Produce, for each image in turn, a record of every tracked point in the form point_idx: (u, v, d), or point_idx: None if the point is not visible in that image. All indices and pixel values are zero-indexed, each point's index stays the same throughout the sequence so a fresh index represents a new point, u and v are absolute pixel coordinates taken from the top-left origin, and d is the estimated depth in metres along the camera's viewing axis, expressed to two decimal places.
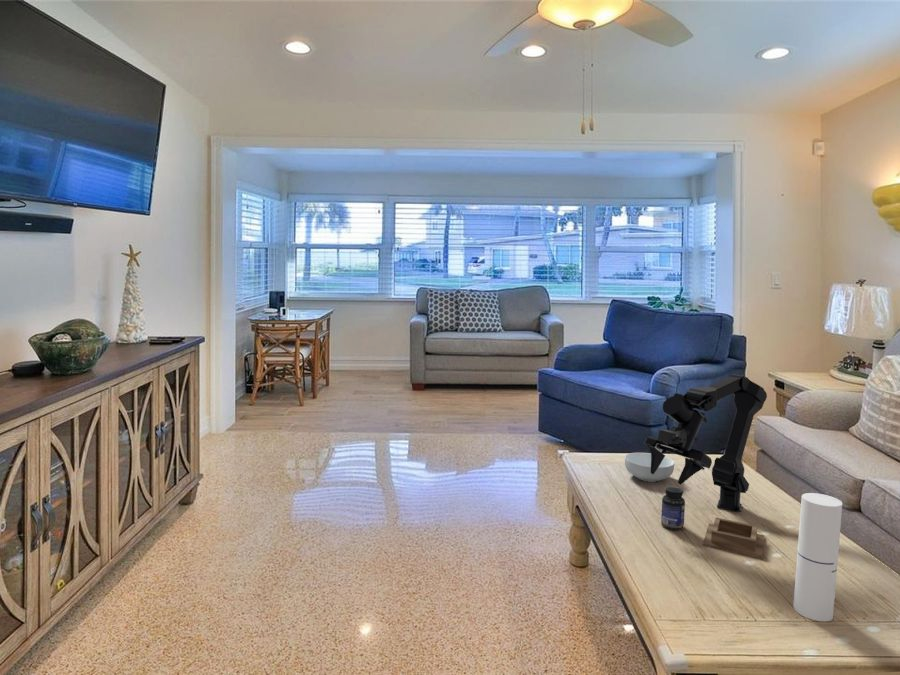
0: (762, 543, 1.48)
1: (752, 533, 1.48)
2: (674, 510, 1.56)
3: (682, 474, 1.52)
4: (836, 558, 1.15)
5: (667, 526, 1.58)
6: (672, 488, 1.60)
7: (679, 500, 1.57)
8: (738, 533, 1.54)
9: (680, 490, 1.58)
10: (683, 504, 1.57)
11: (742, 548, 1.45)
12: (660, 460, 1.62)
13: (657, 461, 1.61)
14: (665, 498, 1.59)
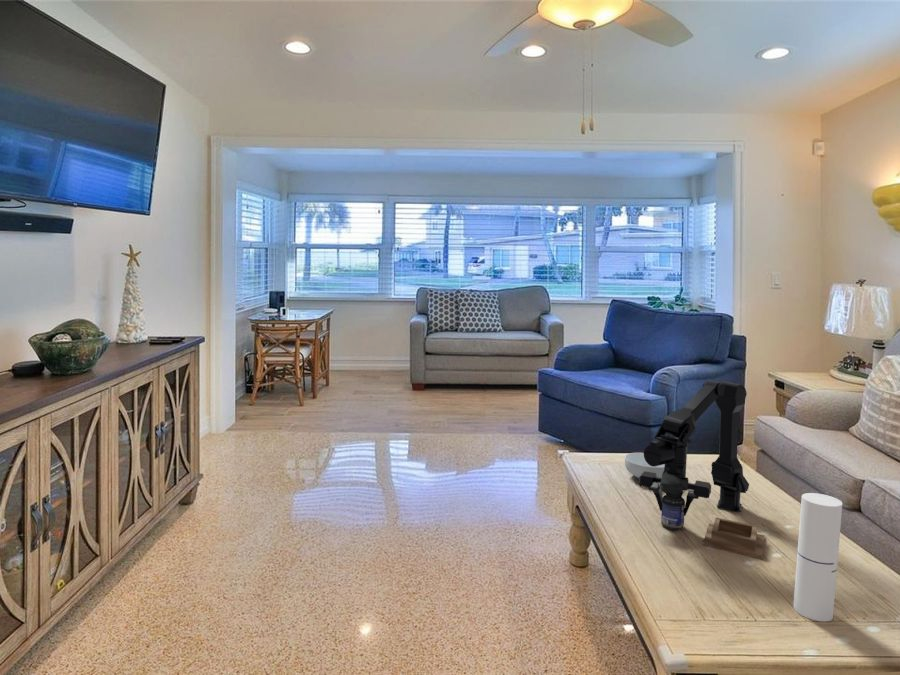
0: (762, 543, 1.48)
1: (752, 533, 1.48)
2: (674, 510, 1.56)
3: (686, 508, 1.56)
4: (836, 558, 1.15)
5: (667, 526, 1.58)
6: None
7: (679, 500, 1.57)
8: (738, 533, 1.54)
9: None
10: (683, 504, 1.57)
11: (742, 548, 1.45)
12: None
13: (661, 497, 1.61)
14: (665, 498, 1.59)
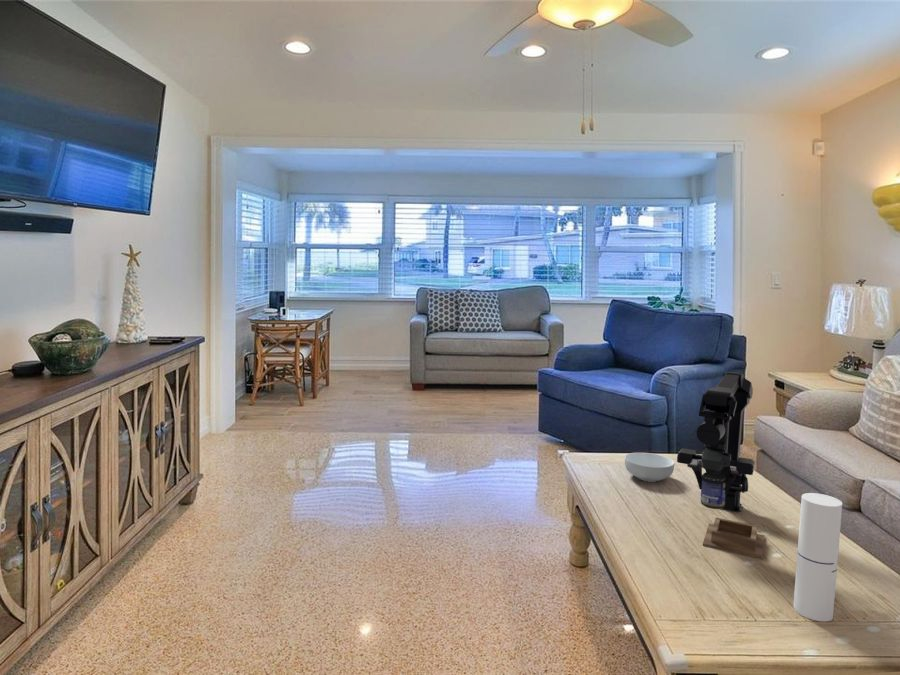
0: (762, 543, 1.48)
1: (752, 533, 1.48)
2: (715, 488, 1.50)
3: (728, 485, 1.50)
4: (836, 558, 1.15)
5: (707, 505, 1.51)
6: None
7: (720, 478, 1.50)
8: (738, 533, 1.54)
9: None
10: (724, 481, 1.50)
11: (742, 548, 1.45)
12: (701, 470, 1.55)
13: (701, 475, 1.54)
14: (705, 476, 1.52)
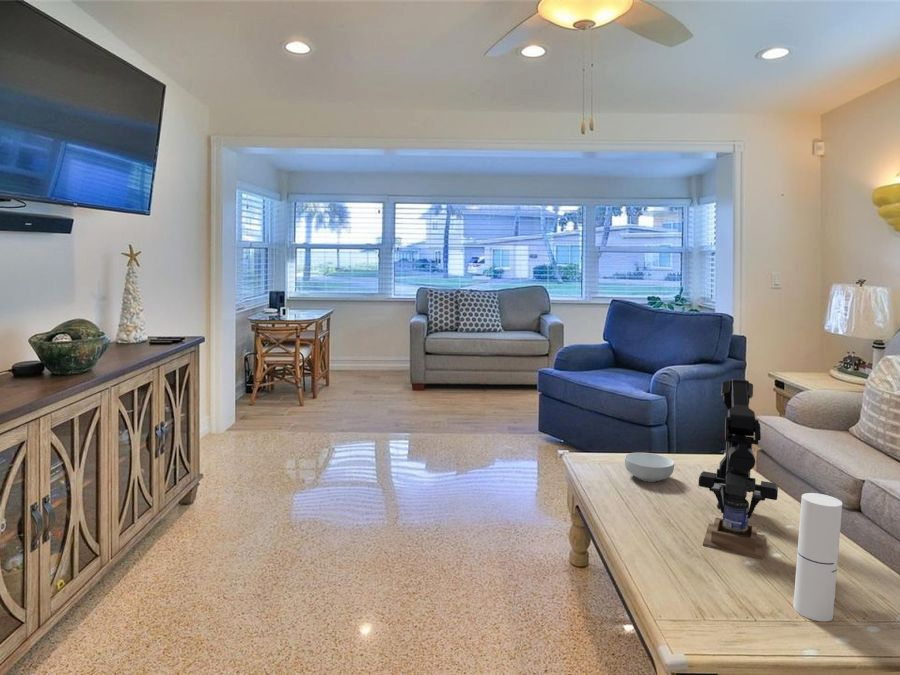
0: (762, 543, 1.48)
1: (752, 533, 1.48)
2: (738, 513, 1.47)
3: (751, 510, 1.47)
4: (836, 558, 1.15)
5: (730, 529, 1.48)
6: None
7: (743, 502, 1.47)
8: None
9: None
10: (747, 506, 1.47)
11: (742, 548, 1.45)
12: (722, 493, 1.53)
13: (722, 499, 1.52)
14: (728, 500, 1.49)
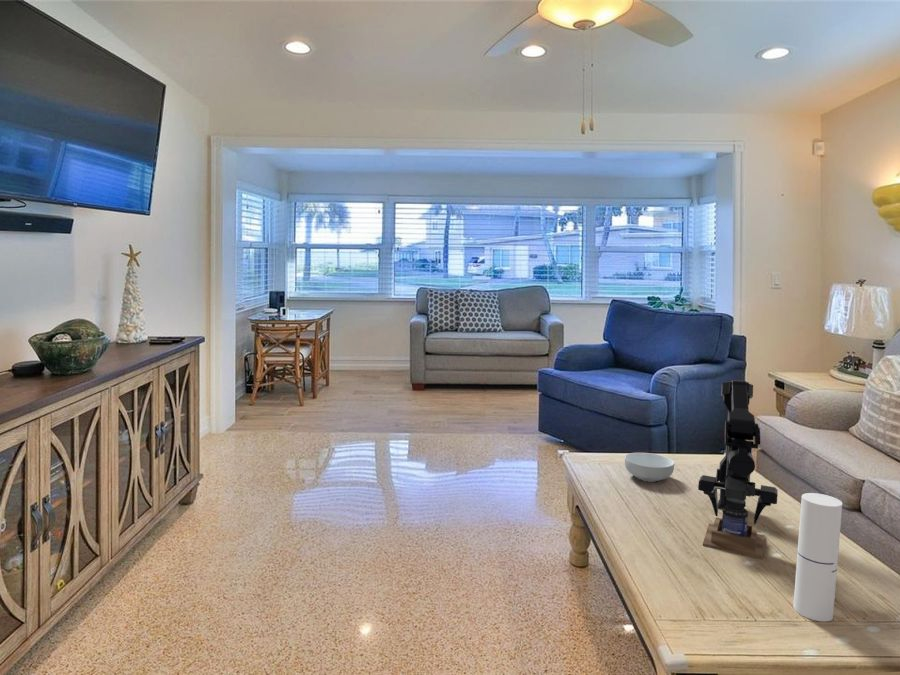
0: (762, 543, 1.48)
1: (752, 533, 1.48)
2: (737, 522, 1.47)
3: (757, 515, 1.47)
4: (836, 558, 1.15)
5: None
6: (733, 499, 1.51)
7: (742, 512, 1.48)
8: None
9: (743, 501, 1.49)
10: (746, 515, 1.48)
11: (742, 548, 1.45)
12: None
13: (716, 502, 1.52)
14: (727, 509, 1.50)
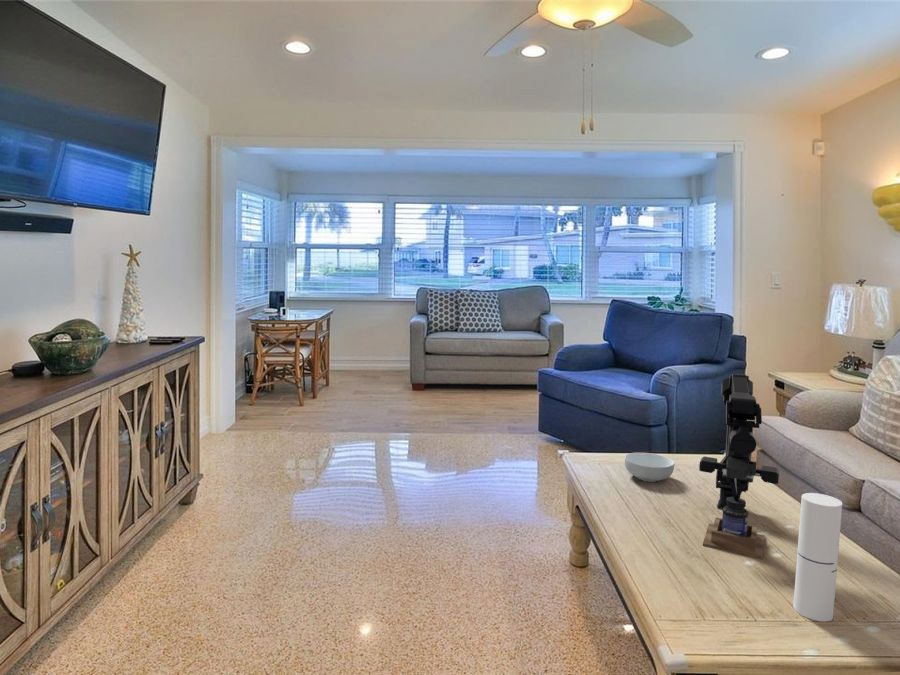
0: (762, 543, 1.48)
1: (752, 533, 1.48)
2: (737, 522, 1.47)
3: (739, 492, 1.48)
4: (836, 558, 1.15)
5: None
6: None
7: (742, 512, 1.48)
8: None
9: (743, 501, 1.49)
10: (746, 515, 1.48)
11: (742, 548, 1.45)
12: None
13: (735, 486, 1.50)
14: (727, 509, 1.50)
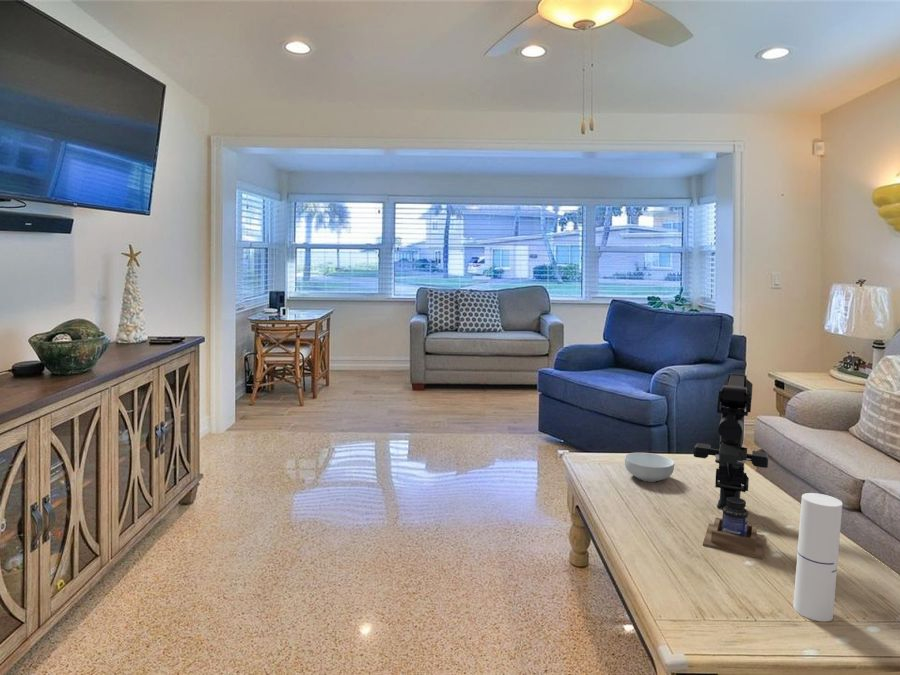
0: (762, 543, 1.48)
1: (752, 533, 1.48)
2: (737, 522, 1.47)
3: (731, 476, 1.57)
4: (836, 558, 1.15)
5: None
6: (734, 499, 1.51)
7: (742, 512, 1.48)
8: None
9: (743, 501, 1.49)
10: (746, 515, 1.48)
11: (742, 548, 1.45)
12: None
13: (728, 470, 1.59)
14: (727, 509, 1.50)
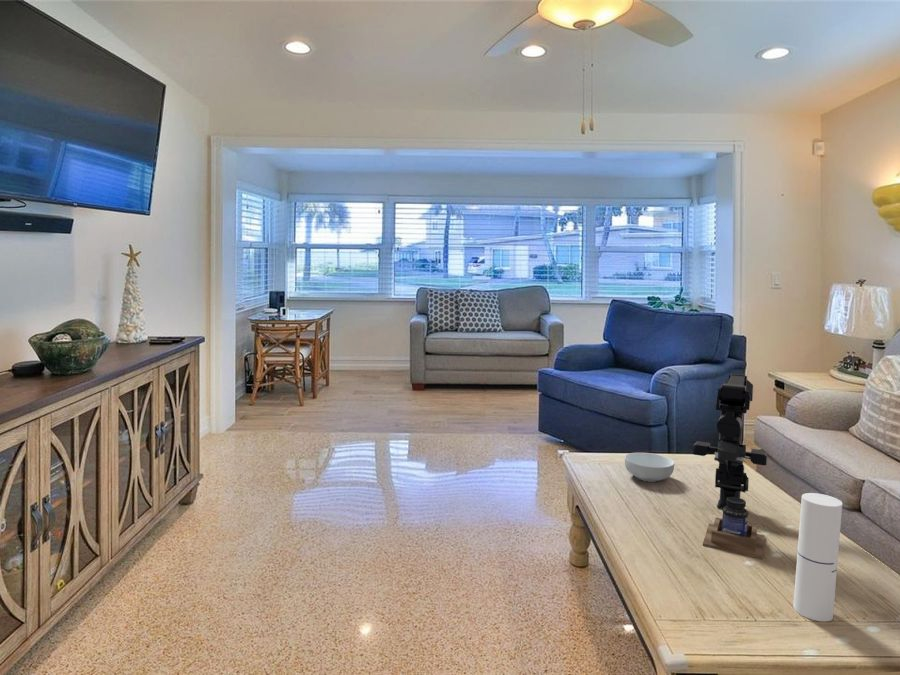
0: (762, 543, 1.48)
1: (752, 533, 1.48)
2: (737, 522, 1.47)
3: (730, 474, 1.58)
4: (836, 558, 1.15)
5: None
6: (734, 499, 1.51)
7: (742, 512, 1.48)
8: None
9: (743, 501, 1.49)
10: (746, 515, 1.48)
11: (742, 548, 1.45)
12: (727, 463, 1.61)
13: (727, 468, 1.59)
14: (727, 509, 1.50)
